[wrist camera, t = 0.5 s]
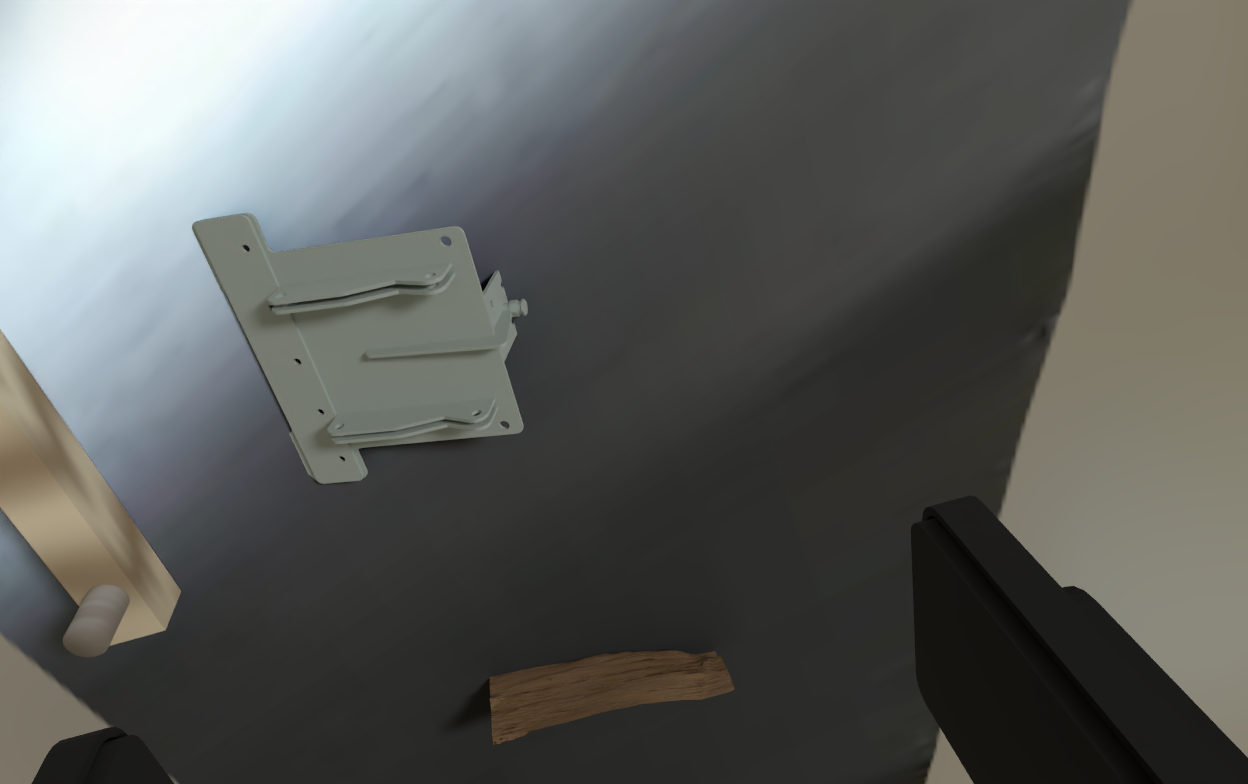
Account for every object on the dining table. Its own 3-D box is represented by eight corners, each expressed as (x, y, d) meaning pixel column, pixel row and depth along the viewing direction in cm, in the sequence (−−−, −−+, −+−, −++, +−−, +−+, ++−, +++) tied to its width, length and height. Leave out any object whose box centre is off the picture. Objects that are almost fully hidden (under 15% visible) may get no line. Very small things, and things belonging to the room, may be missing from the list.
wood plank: (492, 690, 56) (495, 754, 51) (487, 669, 55) (490, 733, 50) (714, 649, 57) (735, 708, 53) (714, 628, 56) (735, 686, 52)
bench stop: (-170, 205, 34) (-280, 256, 29) (-98, 187, 35) (-195, 234, 29) (129, 605, 47) (89, 690, 42) (181, 591, 47) (147, 674, 42)
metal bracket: (454, 194, 33) (542, 484, 41) (490, 151, 38) (563, 418, 46) (145, 241, 36) (283, 505, 44) (215, 195, 41) (328, 440, 49)
